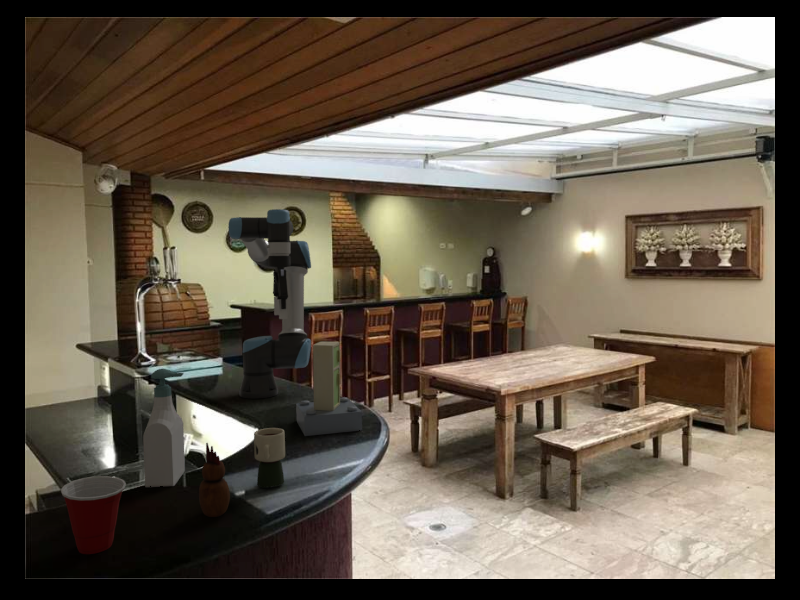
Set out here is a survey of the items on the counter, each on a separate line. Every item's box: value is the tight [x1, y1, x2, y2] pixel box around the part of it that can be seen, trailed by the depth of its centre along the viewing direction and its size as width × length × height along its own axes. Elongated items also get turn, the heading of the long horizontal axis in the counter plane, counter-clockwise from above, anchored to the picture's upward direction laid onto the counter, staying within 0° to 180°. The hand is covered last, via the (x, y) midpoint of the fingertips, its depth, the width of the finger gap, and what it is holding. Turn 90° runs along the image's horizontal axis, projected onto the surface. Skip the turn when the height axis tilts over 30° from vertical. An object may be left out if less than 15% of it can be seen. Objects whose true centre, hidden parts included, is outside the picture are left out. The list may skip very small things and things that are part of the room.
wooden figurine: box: [198, 442, 231, 518], centre depth 124 cm, size 7×6×15 cm
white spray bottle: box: [142, 368, 186, 488], centre depth 145 cm, size 11×8×27 cm
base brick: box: [295, 396, 363, 437], centre depth 191 cm, size 18×18×7 cm
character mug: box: [253, 427, 286, 489], centre depth 140 cm, size 11×7×13 cm, turn 4°
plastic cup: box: [60, 475, 127, 555], centre depth 110 cm, size 11×11×12 cm
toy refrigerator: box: [312, 341, 341, 411], centre depth 190 cm, size 8×7×21 cm
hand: (280, 316), depth 203 cm, fingers open, 13 cm apart
